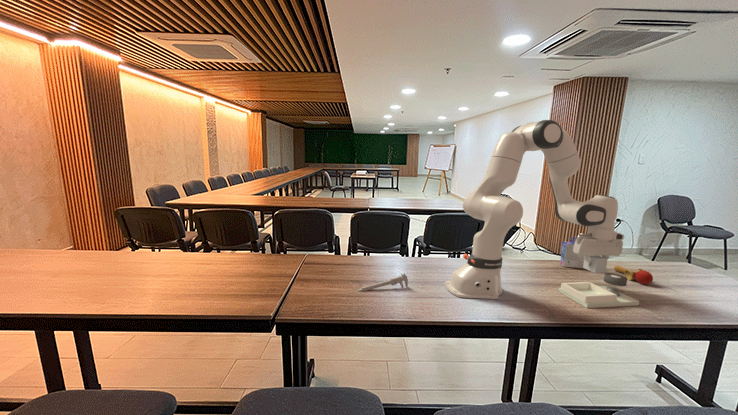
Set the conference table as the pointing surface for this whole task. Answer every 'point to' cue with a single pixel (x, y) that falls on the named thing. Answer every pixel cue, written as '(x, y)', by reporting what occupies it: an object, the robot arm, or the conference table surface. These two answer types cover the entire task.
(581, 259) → the ink cartridge box
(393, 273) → the conference table surface
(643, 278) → the kendama
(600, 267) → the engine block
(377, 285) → the caliper
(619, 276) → the wheel
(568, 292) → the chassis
